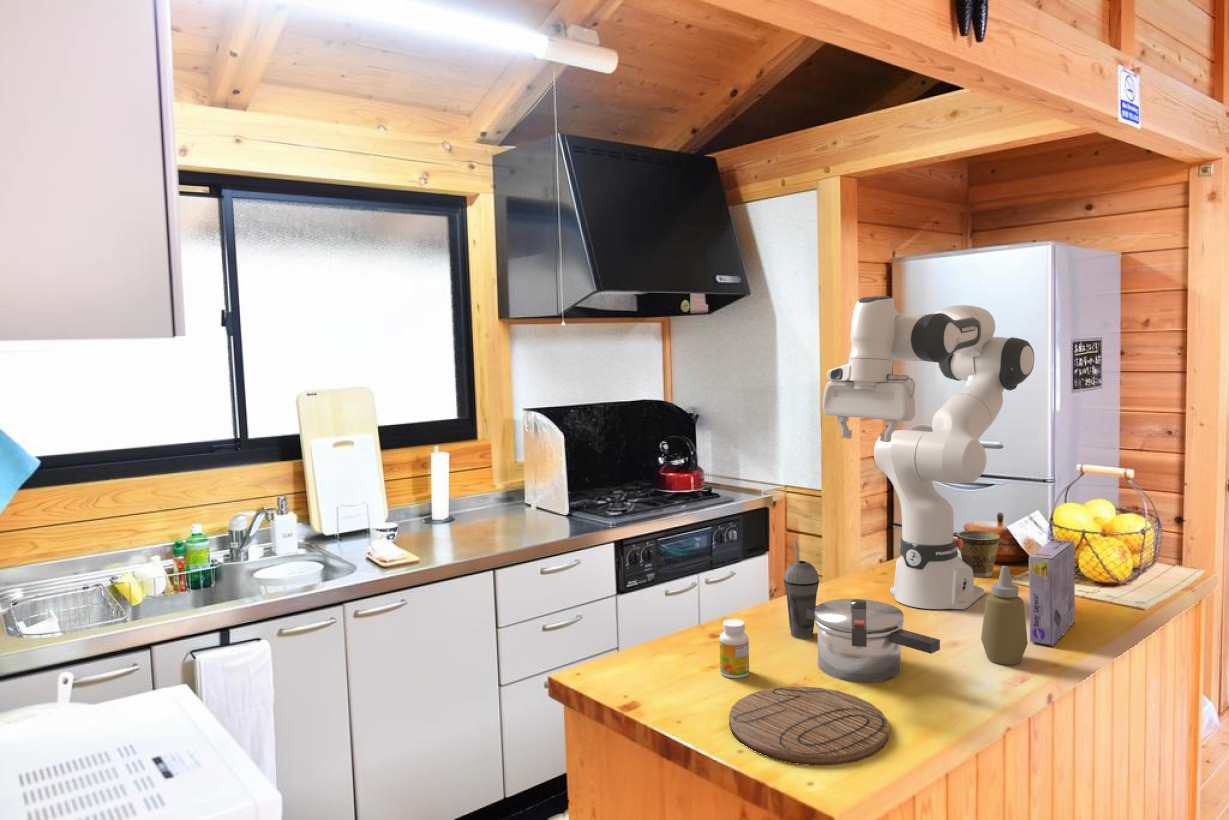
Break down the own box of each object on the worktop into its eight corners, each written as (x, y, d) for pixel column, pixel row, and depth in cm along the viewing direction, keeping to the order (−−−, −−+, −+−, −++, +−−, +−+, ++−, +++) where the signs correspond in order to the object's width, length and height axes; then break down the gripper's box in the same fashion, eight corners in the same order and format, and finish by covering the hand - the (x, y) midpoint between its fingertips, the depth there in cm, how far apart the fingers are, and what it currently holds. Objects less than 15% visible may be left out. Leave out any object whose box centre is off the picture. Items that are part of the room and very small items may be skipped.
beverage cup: (820, 641, 181) (819, 545, 179) (783, 640, 183) (782, 544, 181) (819, 629, 189) (818, 536, 187) (784, 628, 190) (783, 535, 188)
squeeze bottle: (991, 648, 175) (992, 558, 173) (1034, 659, 169) (1035, 566, 167) (973, 660, 169) (974, 567, 167) (1017, 671, 164) (1018, 575, 162)
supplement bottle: (714, 670, 168) (713, 620, 167) (739, 665, 170) (738, 616, 169) (729, 681, 163) (728, 629, 162) (754, 675, 165) (754, 624, 164)
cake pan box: (1051, 616, 192) (1053, 536, 190) (1077, 621, 189) (1079, 539, 187) (1026, 643, 177) (1027, 556, 176) (1053, 648, 174) (1055, 559, 172)
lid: (901, 607, 173) (901, 582, 172) (909, 656, 148) (909, 628, 147) (816, 602, 177) (816, 579, 176) (810, 650, 152) (810, 622, 152)
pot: (835, 640, 182) (835, 597, 181) (958, 678, 161) (959, 630, 160) (785, 661, 171) (785, 615, 171) (910, 704, 151) (910, 653, 150)
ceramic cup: (1007, 575, 223) (1008, 535, 222) (981, 581, 218) (982, 541, 217) (964, 563, 234) (964, 526, 233) (938, 569, 229) (938, 531, 228)
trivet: (697, 726, 146) (697, 715, 146) (798, 684, 161) (798, 674, 161) (818, 785, 127) (818, 773, 126) (921, 732, 142) (921, 721, 142)
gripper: (923, 376, 179) (919, 444, 180) (838, 373, 195) (833, 436, 195) (906, 374, 175) (901, 444, 176) (820, 371, 191) (816, 436, 191)
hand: (865, 440), depth 186 cm, fingers open, 8 cm apart
